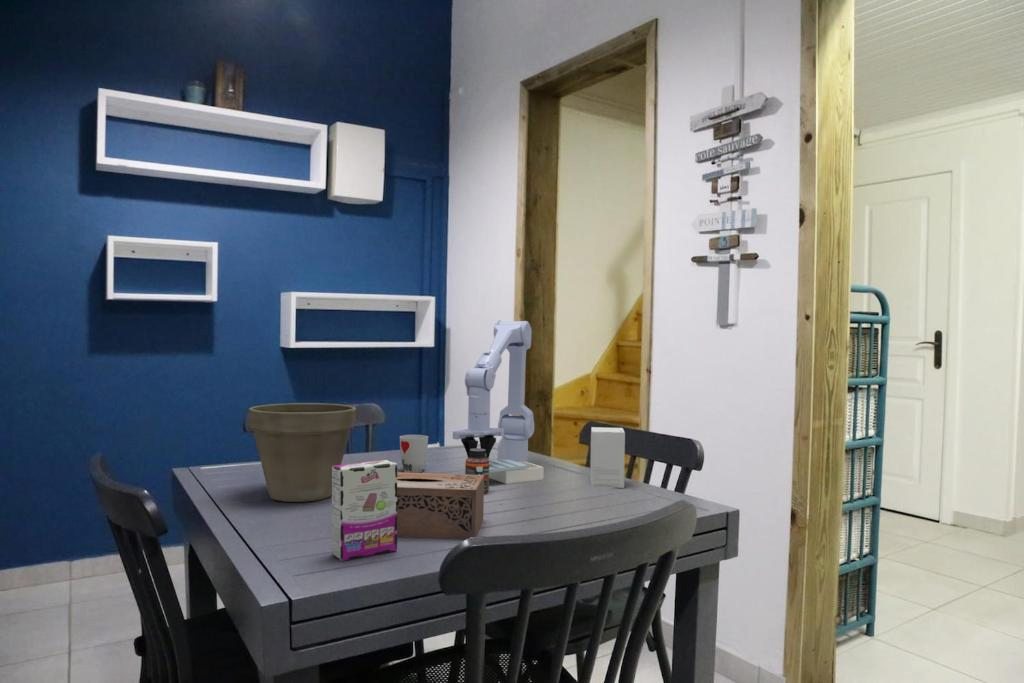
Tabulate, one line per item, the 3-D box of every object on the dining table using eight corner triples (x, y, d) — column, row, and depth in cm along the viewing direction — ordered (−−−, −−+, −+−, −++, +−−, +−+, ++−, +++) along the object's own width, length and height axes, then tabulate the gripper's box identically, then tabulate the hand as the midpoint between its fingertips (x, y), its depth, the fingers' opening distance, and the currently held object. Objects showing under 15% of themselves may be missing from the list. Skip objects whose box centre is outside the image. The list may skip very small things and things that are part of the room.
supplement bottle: (485, 498, 175) (486, 451, 175) (462, 496, 176) (462, 450, 176) (491, 492, 181) (491, 448, 181) (468, 491, 182) (469, 446, 182)
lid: (464, 466, 192) (464, 450, 192) (508, 462, 200) (508, 446, 200) (482, 473, 184) (482, 456, 184) (527, 468, 192) (528, 452, 192)
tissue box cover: (346, 535, 143) (347, 485, 143) (366, 516, 157) (367, 471, 157) (475, 540, 141) (476, 490, 141) (483, 521, 156) (484, 475, 155)
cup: (395, 469, 207) (396, 435, 207) (422, 467, 211) (423, 434, 211) (403, 475, 200) (404, 439, 200) (431, 473, 204) (432, 438, 203)
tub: (488, 479, 196) (488, 465, 196) (525, 475, 203) (525, 461, 203) (506, 486, 189) (506, 471, 189) (543, 481, 195) (543, 467, 195)
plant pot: (305, 480, 191) (306, 399, 191) (375, 492, 179) (376, 405, 178) (224, 498, 170) (226, 407, 170) (298, 514, 157) (299, 415, 157)
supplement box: (622, 481, 198) (624, 427, 197) (624, 488, 189) (625, 432, 189) (589, 480, 199) (590, 426, 198) (590, 487, 190) (591, 430, 189)
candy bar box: (385, 544, 137) (387, 458, 136) (397, 551, 133) (399, 463, 132) (329, 554, 130) (330, 464, 130) (340, 562, 126) (341, 469, 126)
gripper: (462, 416, 182) (461, 469, 182) (510, 413, 190) (509, 464, 190) (449, 413, 188) (448, 465, 188) (496, 410, 195) (495, 460, 196)
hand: (478, 464), depth 189 cm, fingers closed on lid, 3 cm apart
